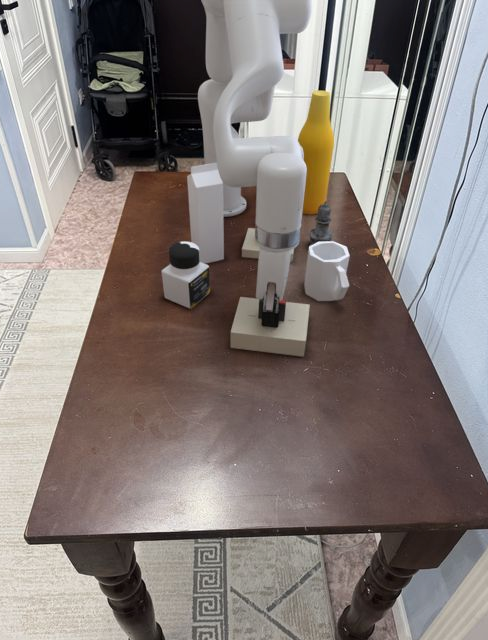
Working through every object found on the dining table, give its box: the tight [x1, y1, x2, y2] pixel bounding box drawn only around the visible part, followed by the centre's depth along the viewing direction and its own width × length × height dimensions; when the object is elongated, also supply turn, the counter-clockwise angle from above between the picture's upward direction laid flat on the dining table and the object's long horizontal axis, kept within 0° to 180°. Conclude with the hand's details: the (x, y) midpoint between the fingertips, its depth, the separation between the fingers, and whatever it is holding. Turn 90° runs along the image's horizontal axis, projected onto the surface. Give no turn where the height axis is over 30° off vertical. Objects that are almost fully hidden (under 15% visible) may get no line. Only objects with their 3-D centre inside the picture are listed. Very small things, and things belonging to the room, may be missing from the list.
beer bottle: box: [297, 90, 335, 216], centre depth 126 cm, size 9×9×29 cm
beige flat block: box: [230, 296, 311, 358], centre depth 96 cm, size 14×11×4 cm
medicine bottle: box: [161, 240, 211, 310], centre depth 101 cm, size 7×7×12 cm
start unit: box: [241, 227, 295, 263], centre depth 119 cm, size 12×10×4 cm
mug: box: [303, 240, 351, 302], centre depth 103 cm, size 12×9×10 cm
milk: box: [186, 163, 225, 264], centre depth 109 cm, size 6×6×22 cm
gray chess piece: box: [308, 200, 334, 248], centre depth 117 cm, size 6×6×12 cm
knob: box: [258, 297, 287, 321], centre depth 93 cm, size 5×2×4 cm, turn 81°
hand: (271, 316), depth 94 cm, fingers open, 4 cm apart
